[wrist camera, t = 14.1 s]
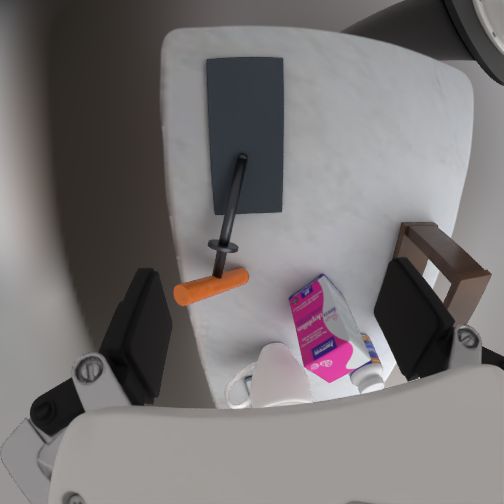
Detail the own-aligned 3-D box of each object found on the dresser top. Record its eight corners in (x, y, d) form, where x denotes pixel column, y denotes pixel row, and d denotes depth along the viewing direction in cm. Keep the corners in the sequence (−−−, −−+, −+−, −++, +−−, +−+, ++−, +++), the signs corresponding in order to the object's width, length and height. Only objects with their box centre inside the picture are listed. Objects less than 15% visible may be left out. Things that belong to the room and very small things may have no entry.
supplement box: (322, 271, 33) (352, 340, 23) (344, 295, 36) (373, 360, 26) (286, 297, 35) (303, 369, 25) (310, 318, 38) (330, 385, 28)
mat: (207, 60, 20) (206, 59, 20) (282, 58, 20) (283, 57, 20) (215, 213, 28) (214, 215, 28) (281, 210, 29) (282, 212, 28)
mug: (302, 331, 39) (319, 396, 29) (298, 362, 43) (310, 420, 33) (221, 337, 38) (220, 405, 29) (227, 368, 43) (228, 428, 33)
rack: (401, 222, 30) (460, 280, 20) (434, 222, 31) (492, 274, 20) (374, 315, 39) (406, 378, 28) (404, 310, 39) (438, 367, 28)
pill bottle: (373, 330, 40) (394, 376, 32) (364, 350, 43) (382, 394, 35) (343, 335, 40) (362, 384, 32) (337, 355, 43) (352, 402, 35)
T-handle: (196, 140, 21) (168, 298, 24) (224, 143, 19) (191, 312, 23) (257, 160, 29) (230, 279, 33) (280, 164, 28) (250, 288, 32)
